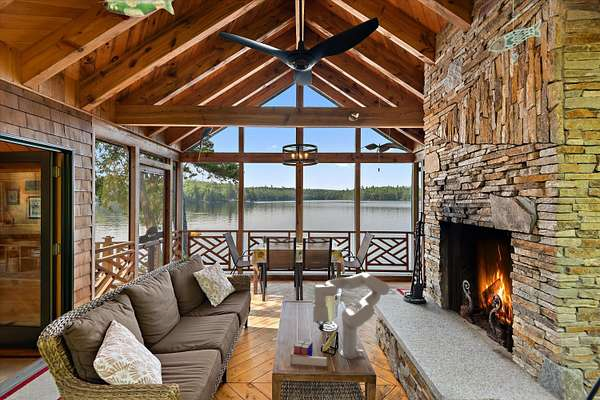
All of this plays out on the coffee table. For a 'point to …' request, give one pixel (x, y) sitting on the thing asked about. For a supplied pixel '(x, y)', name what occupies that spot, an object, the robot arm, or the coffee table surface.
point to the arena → (307, 359)
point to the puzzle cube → (303, 348)
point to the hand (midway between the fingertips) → (321, 330)
